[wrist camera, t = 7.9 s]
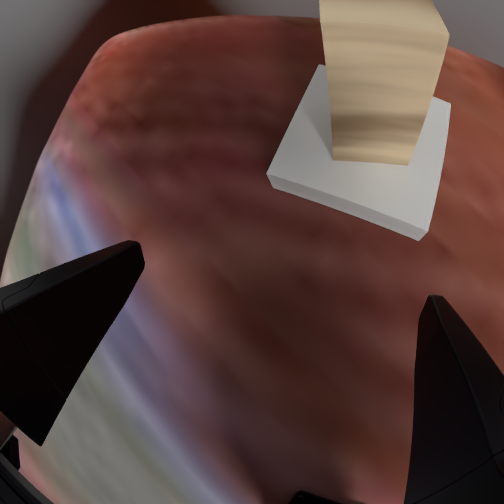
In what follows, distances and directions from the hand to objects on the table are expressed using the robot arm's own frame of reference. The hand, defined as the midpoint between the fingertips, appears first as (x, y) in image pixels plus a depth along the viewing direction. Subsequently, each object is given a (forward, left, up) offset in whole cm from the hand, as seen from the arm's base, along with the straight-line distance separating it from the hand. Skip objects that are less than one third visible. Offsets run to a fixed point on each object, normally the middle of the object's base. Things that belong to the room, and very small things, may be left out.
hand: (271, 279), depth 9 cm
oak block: (0, -13, -11) cm, 17 cm away
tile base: (0, -13, -14) cm, 19 cm away
